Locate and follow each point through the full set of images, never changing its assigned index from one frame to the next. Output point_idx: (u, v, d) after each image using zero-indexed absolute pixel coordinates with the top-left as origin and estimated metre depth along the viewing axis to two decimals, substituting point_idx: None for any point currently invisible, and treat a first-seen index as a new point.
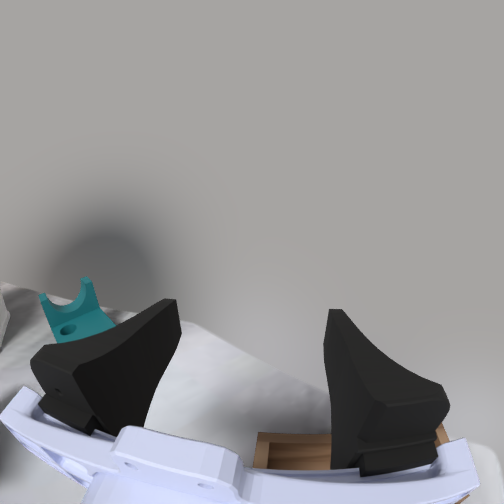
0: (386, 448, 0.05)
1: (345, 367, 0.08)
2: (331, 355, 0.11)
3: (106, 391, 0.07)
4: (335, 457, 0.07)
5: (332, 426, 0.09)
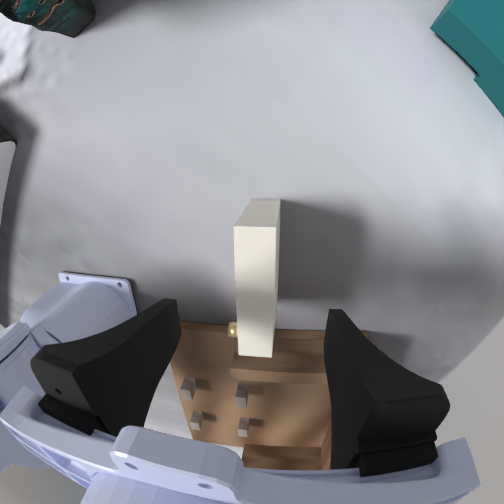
0: (386, 448, 0.05)
1: (345, 367, 0.08)
2: (331, 355, 0.11)
3: (106, 391, 0.07)
4: (335, 457, 0.07)
5: (332, 426, 0.09)
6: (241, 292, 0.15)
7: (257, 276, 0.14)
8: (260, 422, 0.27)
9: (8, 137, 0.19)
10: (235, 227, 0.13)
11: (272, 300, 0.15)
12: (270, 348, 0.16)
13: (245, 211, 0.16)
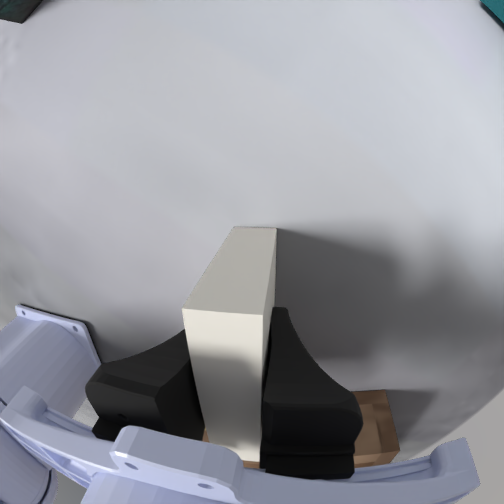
0: (292, 454, 0.06)
1: None
2: None
3: (179, 410, 0.07)
4: None
5: None
6: (207, 400, 0.08)
7: (232, 384, 0.08)
8: None
9: None
10: (185, 310, 0.07)
11: (258, 412, 0.08)
12: (257, 454, 0.09)
13: (215, 260, 0.09)
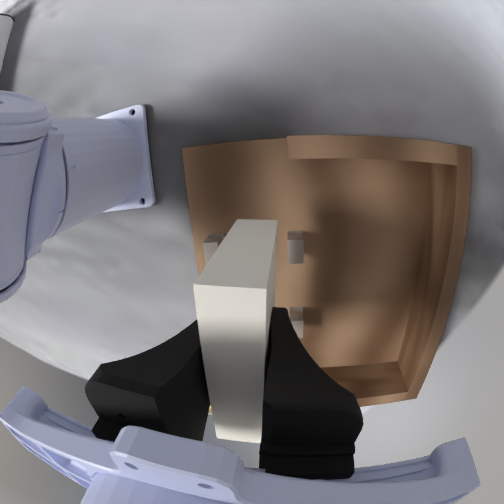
0: (292, 454, 0.06)
1: None
2: None
3: (179, 410, 0.07)
4: None
5: None
6: (213, 376, 0.09)
7: (237, 358, 0.08)
8: (318, 315, 0.21)
9: (6, 18, 0.13)
10: (196, 286, 0.08)
11: (261, 388, 0.09)
12: (259, 435, 0.10)
13: (221, 246, 0.10)
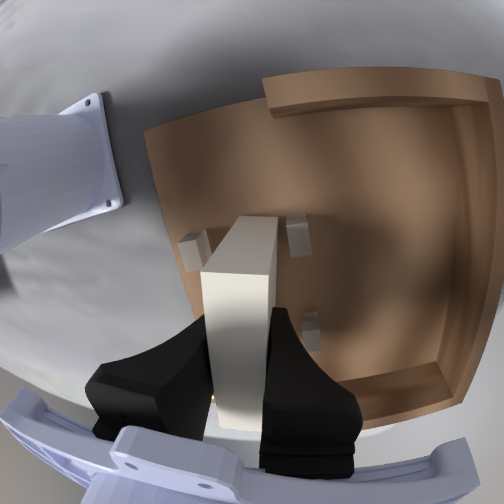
0: (291, 454, 0.06)
1: None
2: None
3: (179, 410, 0.07)
4: None
5: None
6: (218, 362, 0.09)
7: (240, 344, 0.09)
8: (338, 319, 0.16)
9: None
10: (203, 273, 0.08)
11: (263, 373, 0.09)
12: (261, 423, 0.11)
13: (225, 239, 0.11)
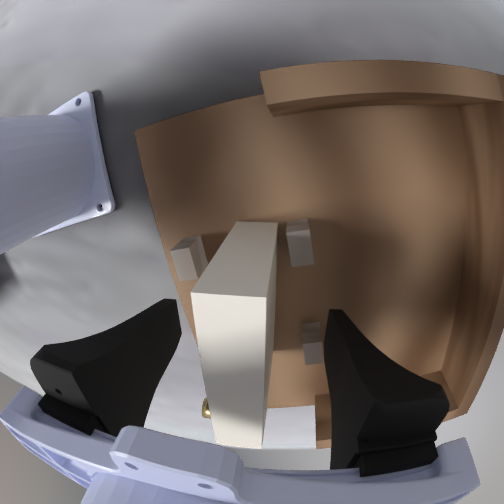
0: (386, 448, 0.05)
1: (345, 367, 0.08)
2: (331, 355, 0.11)
3: (106, 391, 0.07)
4: (335, 457, 0.07)
5: (332, 426, 0.09)
6: (212, 383, 0.09)
7: (236, 367, 0.08)
8: None
9: None
10: (193, 294, 0.07)
11: (261, 395, 0.09)
12: (259, 441, 0.10)
13: (220, 251, 0.10)
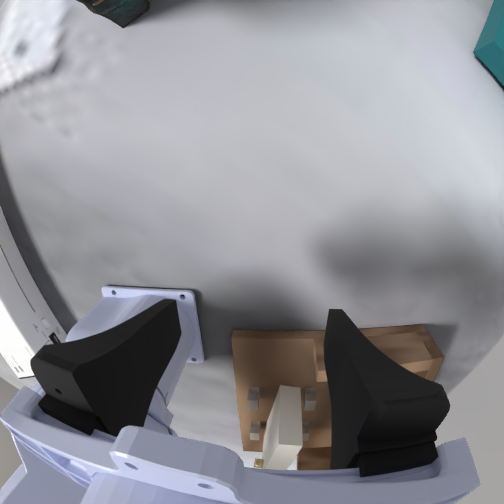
0: (386, 448, 0.05)
1: (345, 367, 0.08)
2: (331, 355, 0.11)
3: (106, 391, 0.07)
4: (335, 457, 0.07)
5: (332, 426, 0.09)
6: (272, 461, 0.19)
7: (284, 458, 0.19)
8: (318, 424, 0.27)
9: None
10: (279, 444, 0.18)
11: (289, 464, 0.20)
12: None
13: (280, 416, 0.21)
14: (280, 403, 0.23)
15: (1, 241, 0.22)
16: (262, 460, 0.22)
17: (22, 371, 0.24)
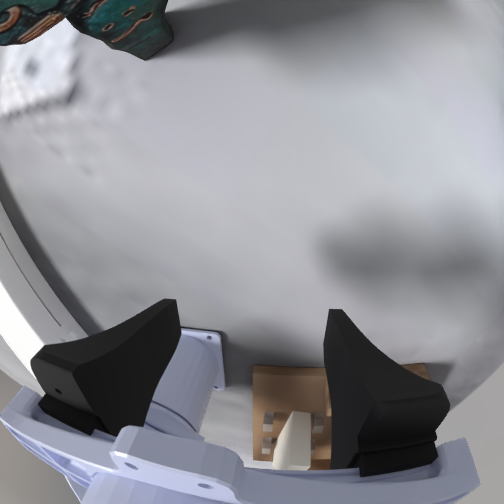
0: (386, 448, 0.05)
1: (345, 367, 0.08)
2: (331, 355, 0.11)
3: (106, 391, 0.07)
4: (335, 457, 0.07)
5: (332, 426, 0.09)
6: None
7: None
8: (323, 441, 0.29)
9: None
10: (290, 465, 0.20)
11: None
12: None
13: (292, 440, 0.23)
14: (292, 428, 0.24)
15: (18, 261, 0.24)
16: None
17: None
